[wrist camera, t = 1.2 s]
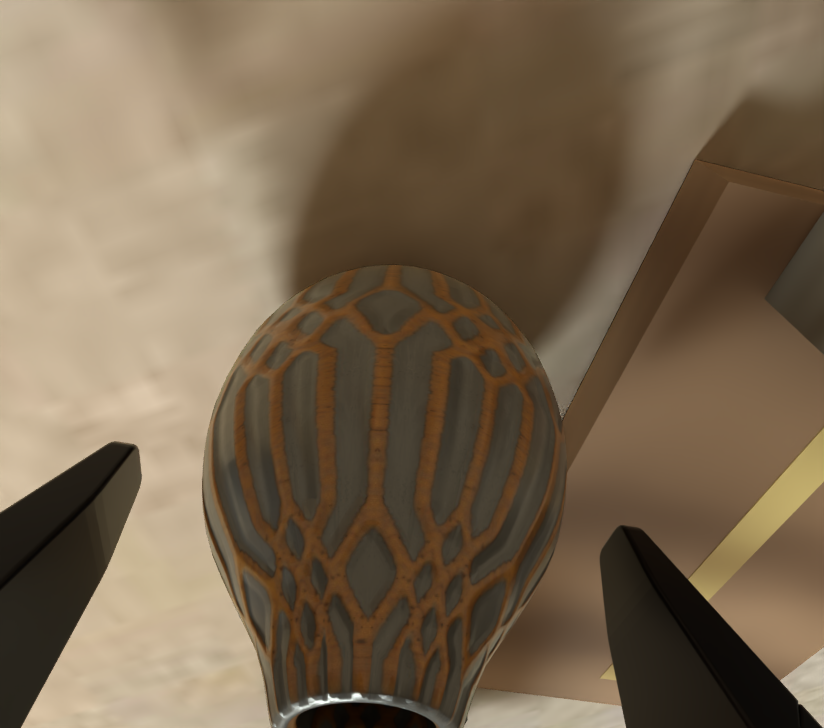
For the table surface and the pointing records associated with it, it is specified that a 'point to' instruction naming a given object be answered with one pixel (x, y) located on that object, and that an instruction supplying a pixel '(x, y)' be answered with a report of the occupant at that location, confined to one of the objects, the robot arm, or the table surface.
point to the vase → (382, 496)
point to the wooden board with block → (697, 438)
